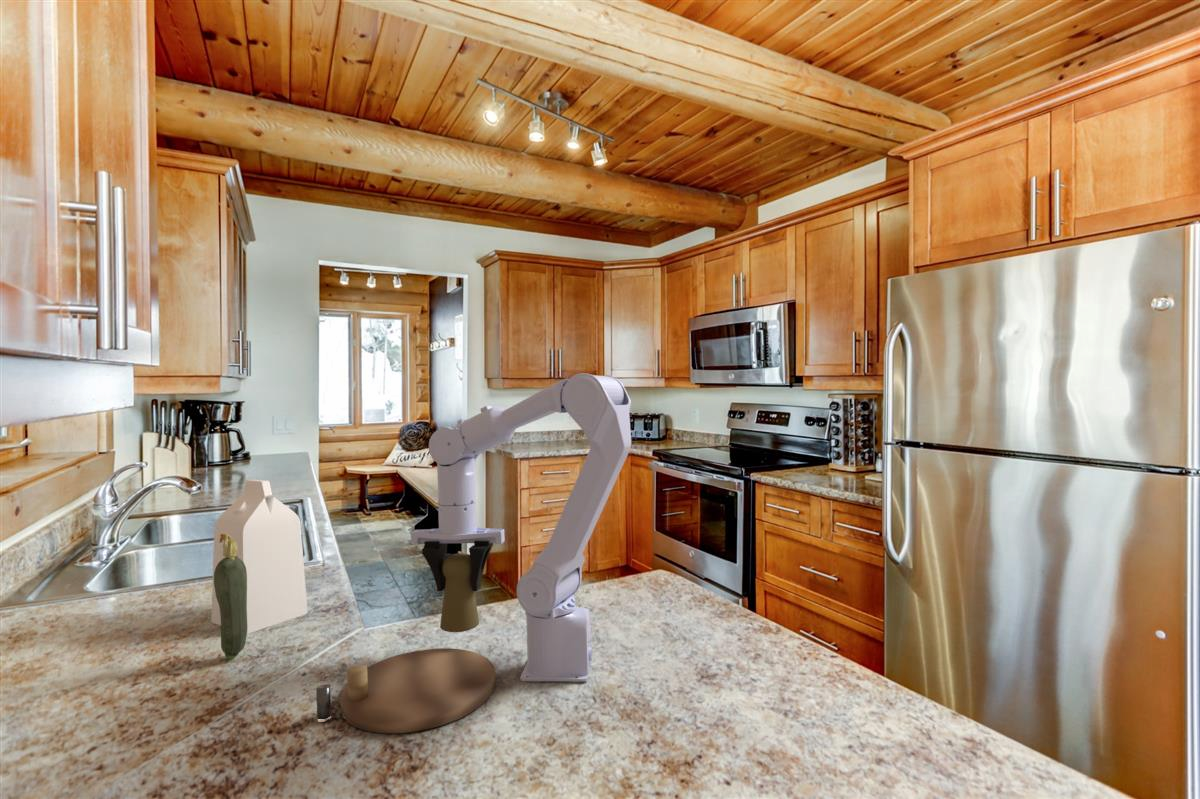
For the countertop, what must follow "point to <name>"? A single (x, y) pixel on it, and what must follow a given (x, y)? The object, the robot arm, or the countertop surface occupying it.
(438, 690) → the disc
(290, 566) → the milk
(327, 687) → the dark gray cylinder
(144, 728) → the countertop surface
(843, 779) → the countertop surface
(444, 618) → the olive pawn piece
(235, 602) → the vegetable
